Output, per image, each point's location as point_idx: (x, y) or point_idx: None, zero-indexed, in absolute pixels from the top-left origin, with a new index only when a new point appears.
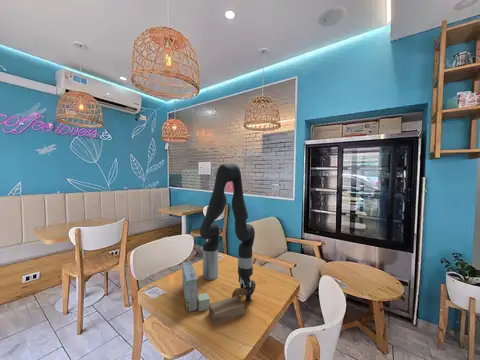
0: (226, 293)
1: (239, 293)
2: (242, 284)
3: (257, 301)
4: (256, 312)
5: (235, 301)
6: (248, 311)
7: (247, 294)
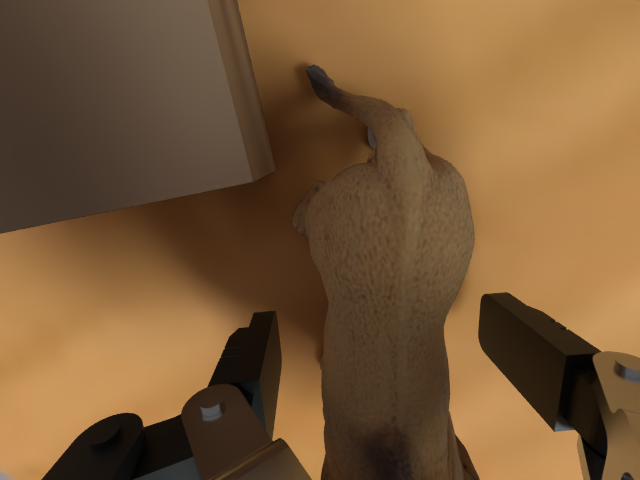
0: (607, 84)
1: (314, 262)
2: (595, 413)
3: (294, 421)
4: (101, 360)
5: (27, 89)
6: (128, 282)
7: (94, 433)
